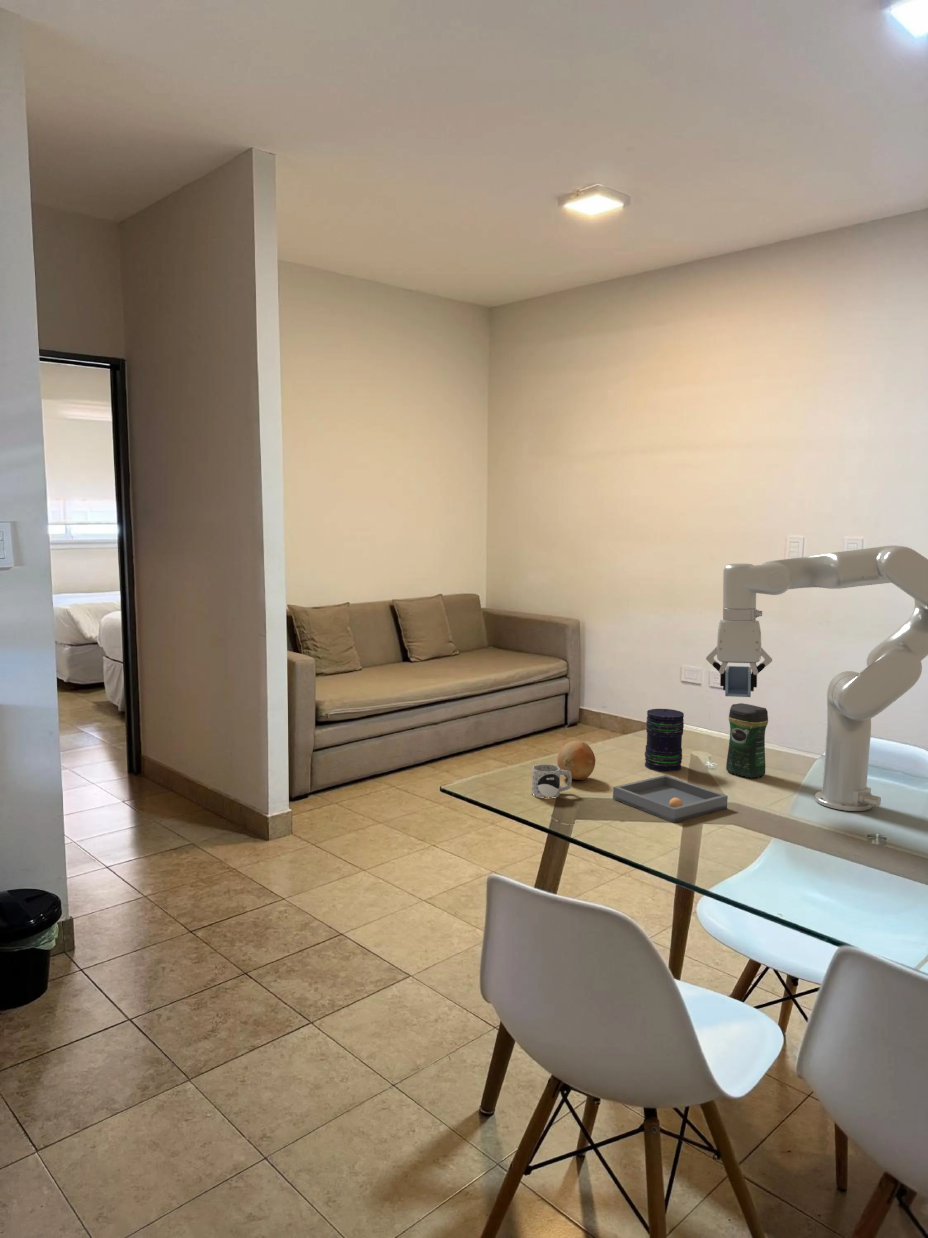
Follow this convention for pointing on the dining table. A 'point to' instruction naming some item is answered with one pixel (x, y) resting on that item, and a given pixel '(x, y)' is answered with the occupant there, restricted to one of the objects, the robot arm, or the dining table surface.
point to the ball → (675, 802)
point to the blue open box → (738, 681)
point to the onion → (576, 759)
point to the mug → (548, 780)
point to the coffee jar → (747, 740)
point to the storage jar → (664, 740)
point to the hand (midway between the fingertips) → (738, 689)
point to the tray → (662, 789)
